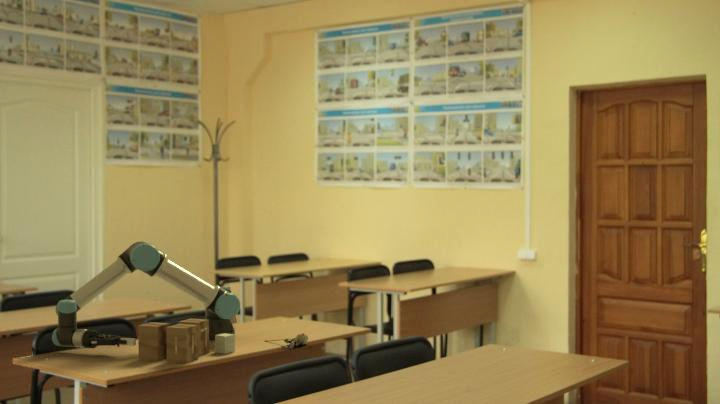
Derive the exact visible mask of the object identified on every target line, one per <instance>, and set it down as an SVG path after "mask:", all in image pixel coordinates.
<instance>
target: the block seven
mask: <svg viewBox="0 0 720 404" xmlns="http://www.w3.org/2000/svg"><path fill="white" fill-rule="evenodd" d="M178 324H191V325H198V358H199V357H201V356H205V355H208V354H209V353H210V339H209V320H207V319H206V318H205V319H202V318H187V319H183V320H180V321H178Z"/></svg>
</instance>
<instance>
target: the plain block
mask: <svg viewBox="0 0 720 404" xmlns="http://www.w3.org/2000/svg"><path fill="white" fill-rule="evenodd" d="M169 326H171V323H169V322H156V321H154V322H153V321H151V322H150V321H149V322H147V323H143V324H140V325H139V324H138V325H137V327H138V328H137V329H138V335H137V337H138V340H137V341H138V361H142V362H143V361H144V362H145V361H147V362H158V363H159V362H161V361H164V360H167V336H166V327H169Z"/></svg>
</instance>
